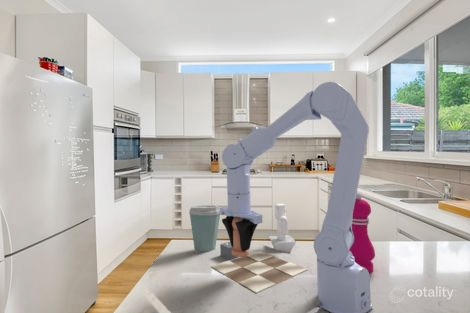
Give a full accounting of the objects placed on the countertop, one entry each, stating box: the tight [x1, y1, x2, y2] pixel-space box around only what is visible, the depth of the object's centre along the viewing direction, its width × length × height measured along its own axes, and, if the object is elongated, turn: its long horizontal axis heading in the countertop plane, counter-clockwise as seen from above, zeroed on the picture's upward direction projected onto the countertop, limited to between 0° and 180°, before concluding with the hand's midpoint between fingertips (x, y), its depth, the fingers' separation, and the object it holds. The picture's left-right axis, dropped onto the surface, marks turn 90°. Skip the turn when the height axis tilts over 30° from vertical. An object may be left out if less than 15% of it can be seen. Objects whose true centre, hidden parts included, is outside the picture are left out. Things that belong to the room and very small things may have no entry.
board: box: [210, 250, 309, 294], centre depth 68 cm, size 18×18×1 cm
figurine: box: [268, 203, 297, 253], centre depth 84 cm, size 7×9×15 cm
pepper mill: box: [349, 192, 376, 274], centre depth 69 cm, size 7×7×20 cm
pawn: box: [232, 217, 250, 258], centre depth 64 cm, size 4×4×9 cm
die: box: [219, 241, 238, 261], centre depth 77 cm, size 4×4×5 cm
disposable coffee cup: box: [188, 204, 221, 254], centre depth 85 cm, size 11×11×15 cm
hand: (240, 247), depth 64 cm, fingers closed on pawn, 3 cm apart
